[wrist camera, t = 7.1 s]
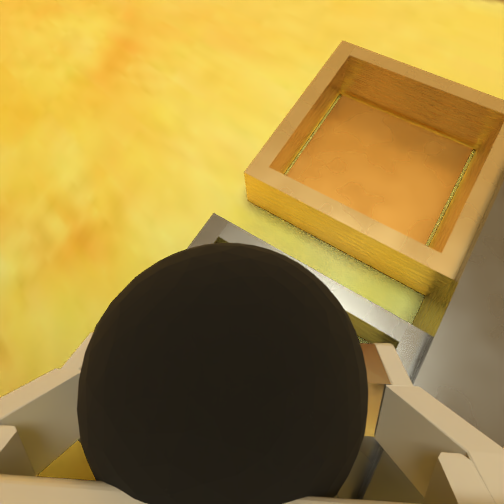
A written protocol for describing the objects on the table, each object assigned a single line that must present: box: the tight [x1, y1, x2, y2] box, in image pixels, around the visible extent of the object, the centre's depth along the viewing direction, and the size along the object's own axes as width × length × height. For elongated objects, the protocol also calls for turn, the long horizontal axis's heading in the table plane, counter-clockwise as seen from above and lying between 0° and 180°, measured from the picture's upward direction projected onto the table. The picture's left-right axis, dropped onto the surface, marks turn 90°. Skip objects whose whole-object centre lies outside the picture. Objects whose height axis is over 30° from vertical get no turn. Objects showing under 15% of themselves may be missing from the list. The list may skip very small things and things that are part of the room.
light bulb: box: [77, 243, 368, 504], centre depth 9 cm, size 6×6×10 cm
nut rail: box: [78, 41, 504, 504], centre depth 14 cm, size 13×24×3 cm, turn 147°
